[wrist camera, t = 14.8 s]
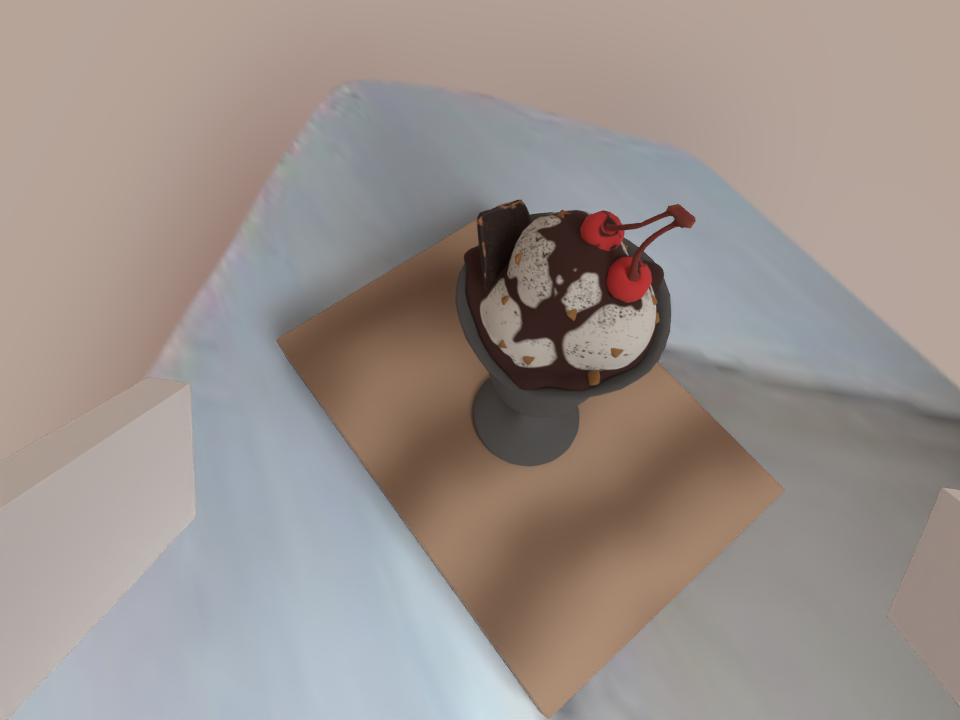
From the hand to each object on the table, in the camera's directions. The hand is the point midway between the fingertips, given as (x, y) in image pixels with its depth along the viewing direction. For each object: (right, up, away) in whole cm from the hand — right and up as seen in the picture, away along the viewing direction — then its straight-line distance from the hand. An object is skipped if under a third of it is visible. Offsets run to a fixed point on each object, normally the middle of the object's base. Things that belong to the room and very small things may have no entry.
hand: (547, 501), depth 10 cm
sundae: (+1, 0, +17) cm, 17 cm away
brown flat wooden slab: (+1, -1, +18) cm, 18 cm away
